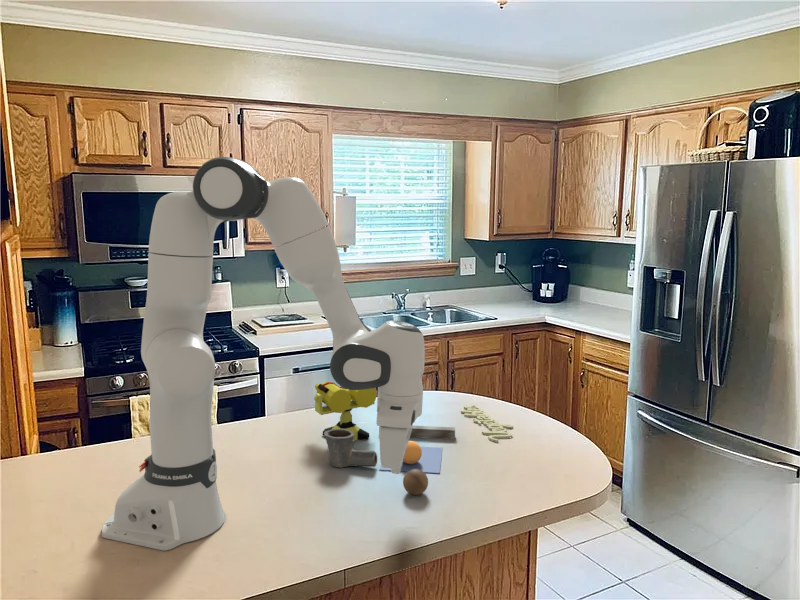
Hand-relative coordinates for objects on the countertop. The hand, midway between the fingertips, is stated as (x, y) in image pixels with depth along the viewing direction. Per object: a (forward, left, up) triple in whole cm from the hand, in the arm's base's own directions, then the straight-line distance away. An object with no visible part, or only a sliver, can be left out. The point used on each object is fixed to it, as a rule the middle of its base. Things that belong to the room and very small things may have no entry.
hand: (396, 470), depth 121 cm
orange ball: (+1, +24, -7) cm, 24 cm away
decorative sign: (+20, +52, -10) cm, 56 cm away
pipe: (-14, +21, -10) cm, 27 cm away
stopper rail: (+1, +40, -9) cm, 41 cm away
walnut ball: (+3, +9, -7) cm, 12 cm away
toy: (-19, +39, -10) cm, 44 cm away
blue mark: (+1, +26, -9) cm, 28 cm away
